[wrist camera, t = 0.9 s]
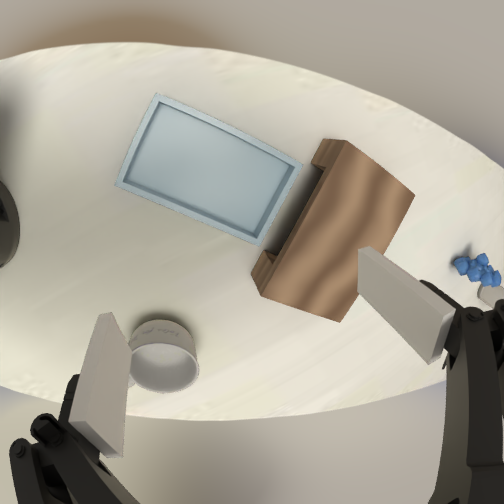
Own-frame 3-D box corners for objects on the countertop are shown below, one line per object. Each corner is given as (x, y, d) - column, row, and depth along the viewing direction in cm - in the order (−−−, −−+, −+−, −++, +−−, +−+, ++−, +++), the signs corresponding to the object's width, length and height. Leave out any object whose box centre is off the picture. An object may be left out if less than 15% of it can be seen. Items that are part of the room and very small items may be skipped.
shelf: (250, 273, 43) (260, 296, 37) (323, 138, 37) (346, 140, 31) (323, 300, 47) (339, 322, 42) (389, 185, 42) (415, 195, 36)
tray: (119, 181, 34) (114, 185, 31) (158, 96, 31) (156, 92, 28) (254, 238, 41) (259, 246, 38) (295, 162, 38) (303, 164, 35)
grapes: (478, 243, 52) (514, 264, 42) (470, 269, 55) (503, 292, 44) (452, 241, 50) (493, 264, 39) (444, 271, 52) (481, 297, 41)
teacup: (180, 301, 42) (180, 334, 35) (206, 351, 47) (210, 385, 39) (104, 326, 41) (93, 359, 34) (135, 371, 46) (131, 404, 38)
